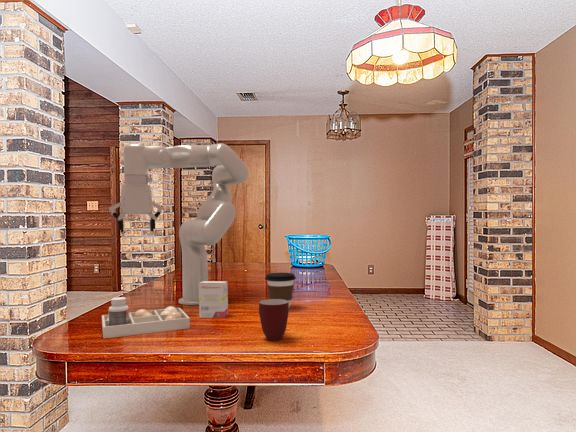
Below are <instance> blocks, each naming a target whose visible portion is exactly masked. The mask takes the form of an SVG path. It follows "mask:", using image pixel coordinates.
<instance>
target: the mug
mask: <svg viewBox="0 0 576 432" xmlns="http://www.w3.org/2000/svg"><path fill="white" fill-rule="evenodd" d="M289 311H290V307H289V302H288V301H287V300H283V299H268V298H267V299H263V300H262V299H261V300H260V301H258V313H259V321H260V326H261V331H262V333H263V335H264V337H265V339H266V340H268V341H272V342H277V341H280V340H281V339H283V337H284V334H285V332H286V330H287V325H288V318H289Z"/></svg>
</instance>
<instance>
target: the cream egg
mask: <svg viewBox="0 0 576 432" xmlns="http://www.w3.org/2000/svg"><path fill="white" fill-rule="evenodd" d="M176 308H177V307H175V306H173V305H171V306H170V305H169V306H167V307H166V308H164V309H165V310H164V311H163V312H161V314H160V315H163V314H169V313H170V312H172V311H177V309H176Z"/></svg>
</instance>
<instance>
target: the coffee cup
mask: <svg viewBox="0 0 576 432" xmlns="http://www.w3.org/2000/svg"><path fill="white" fill-rule="evenodd" d="M296 279H297V278H296V276H295V274H294V273H293V272H292V273H290V272H271V273H267V274H266V275H265V277H264V280H265V281H266V282H267V284H266V285H267V292H268V297H269V299H283V300H287V301H288V302H289V308H290V307H291V303H292V299H293V291H294V286H295V285H294V283H295V280H296Z"/></svg>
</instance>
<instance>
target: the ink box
mask: <svg viewBox="0 0 576 432" xmlns="http://www.w3.org/2000/svg"><path fill="white" fill-rule="evenodd" d="M228 288H229V287H228V280H227V281H225V280H224V281H220V280H219V281H217V280H215V281H213V280H211V281H210V280H209V281H203V282H200V283H199V305H198V308H199V309H198V311H199V313H198V314H199V315H198V316H199V318H203V319H204V318H205V319H207V318H208V319H209V318H211V319H213V318H214V319H225V318H226V317H227V316H229V299H228V298H229V297H228V294H229V291H228V290H229V289H228Z"/></svg>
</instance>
